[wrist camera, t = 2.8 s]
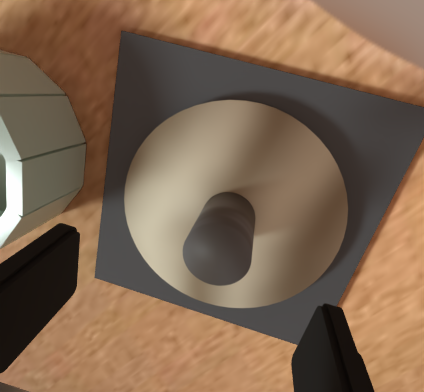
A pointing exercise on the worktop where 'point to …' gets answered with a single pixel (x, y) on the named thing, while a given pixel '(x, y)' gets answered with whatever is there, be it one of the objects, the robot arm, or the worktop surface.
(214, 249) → the lid
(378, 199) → the mat
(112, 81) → the worktop surface
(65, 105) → the bowl
